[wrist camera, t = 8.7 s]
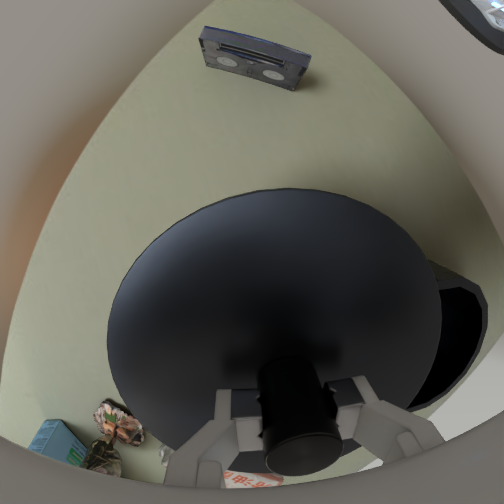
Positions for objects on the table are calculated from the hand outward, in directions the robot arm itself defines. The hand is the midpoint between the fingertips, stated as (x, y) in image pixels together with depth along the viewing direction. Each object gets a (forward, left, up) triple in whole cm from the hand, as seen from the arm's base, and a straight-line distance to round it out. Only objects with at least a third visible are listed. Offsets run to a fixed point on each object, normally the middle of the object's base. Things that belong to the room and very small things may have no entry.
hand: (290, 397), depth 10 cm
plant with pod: (+20, +23, -18) cm, 35 cm away
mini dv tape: (0, -18, -18) cm, 25 cm away
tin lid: (0, 0, -2) cm, 2 cm away
